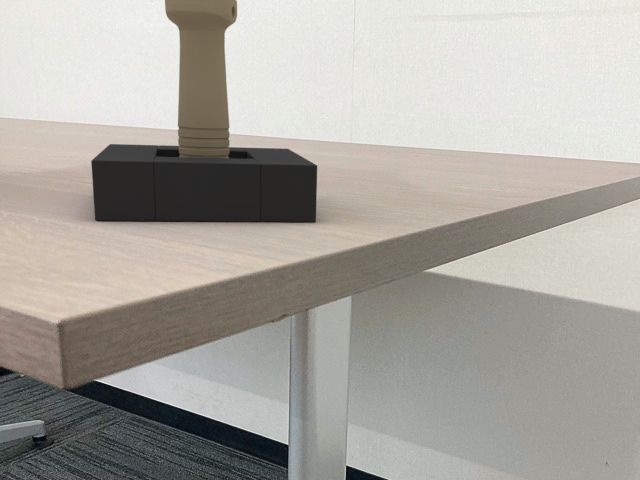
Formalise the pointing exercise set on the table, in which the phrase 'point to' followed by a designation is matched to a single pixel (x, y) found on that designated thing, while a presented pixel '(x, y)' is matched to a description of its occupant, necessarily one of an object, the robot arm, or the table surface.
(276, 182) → the black slotted base
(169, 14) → the handle
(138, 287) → the table surface
